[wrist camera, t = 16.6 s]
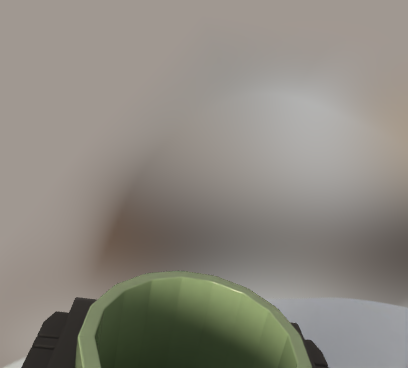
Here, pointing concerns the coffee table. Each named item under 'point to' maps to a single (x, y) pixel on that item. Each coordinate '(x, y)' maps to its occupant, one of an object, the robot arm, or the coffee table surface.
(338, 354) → the coffee table surface
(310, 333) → the coffee table surface
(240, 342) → the light green cup
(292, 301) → the coffee table surface
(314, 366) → the robot arm
